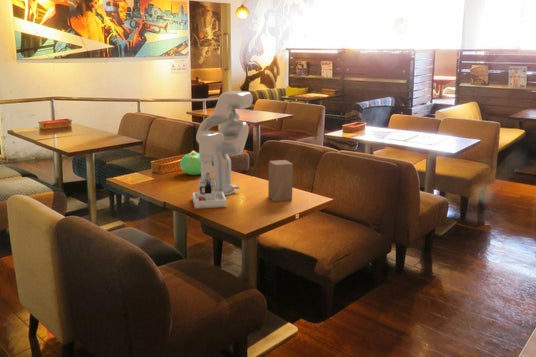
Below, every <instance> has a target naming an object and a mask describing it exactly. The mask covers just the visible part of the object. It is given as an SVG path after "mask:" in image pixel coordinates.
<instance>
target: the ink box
mask: <svg viewBox="0 0 536 357" xmlns="http://www.w3.org/2000/svg"><path fill="white" fill-rule="evenodd" d="M206 184H207V183H206ZM198 192H199V201H209V200H215V197H216V179H215V178H214V177H212V181H211V193H208V194H205V181H202V179H201V177H199V178H198Z"/></svg>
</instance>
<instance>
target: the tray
mask: <svg viewBox="0 0 536 357" xmlns="http://www.w3.org/2000/svg"><path fill="white" fill-rule="evenodd" d="M192 203H193V207H194V209H209V208H211V209H213V208H227V206H228V201H227V197H226V195H224V193H223V191H222V192H216V197H215V200H209V201H199V191H198V192H192Z"/></svg>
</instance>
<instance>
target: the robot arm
mask: <svg viewBox="0 0 536 357" xmlns="http://www.w3.org/2000/svg"><path fill="white" fill-rule="evenodd" d="M253 101H254V97H253V94H252V93H251V92H250V91H241V90H239V91H237V90H228V91H225V92H223V93H221V94H220V95H219V97H218V99H217V103H216V105H215V108H214V110H213V112H212V114H210V115H208V116H207V117H205V119H203V121H201V123H199V126H198V129H197V132H196V136H195V140H196V142H197V143H198V147H199V150H198V151H199V152H198V153H199V161H200V162H201V174H200V178H201V179H202V181H205V194H208V193H211V181H212V178H215V179H216V192H222V191H223V193H224V195H225V196H229V195H232V194H234V193H235V190H240V185H237V184H232V160H231V157H230V156H229V155H237V156H239V155H241V154H242V153H243V151H244V149H245V146H246V143H247V139H248V135H249V132H250V129H249V128H250V127H249V124H248V123H247V122H245V121H243V120H240V113H239V112H238V110H245V109H247V108H250V107H251V106H252V104H253ZM237 109H238V110H237ZM219 125H220V127H219V131H217V130H216V131H215V130H211V128H213V127H215V126H219ZM206 183H207V184H206Z"/></svg>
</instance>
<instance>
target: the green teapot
mask: <svg viewBox="0 0 536 357" xmlns="http://www.w3.org/2000/svg"><path fill="white" fill-rule="evenodd" d="M179 165H180V168H181V170H182V172H184V173H185V174H187V175H191V176H199V175H201V162H200V161H199V152H197V151H195V150H191V152H188V153H187V154H184V155H183V156H182V158H181V160H180V162H179Z"/></svg>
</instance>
